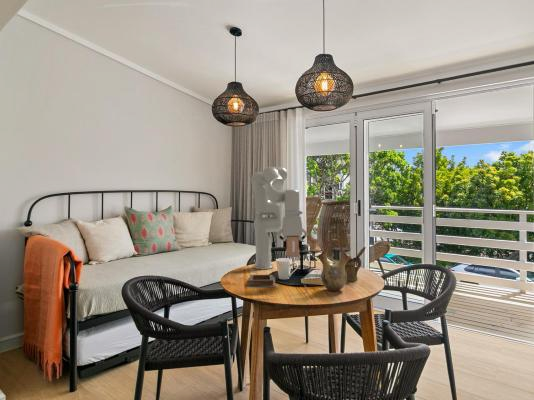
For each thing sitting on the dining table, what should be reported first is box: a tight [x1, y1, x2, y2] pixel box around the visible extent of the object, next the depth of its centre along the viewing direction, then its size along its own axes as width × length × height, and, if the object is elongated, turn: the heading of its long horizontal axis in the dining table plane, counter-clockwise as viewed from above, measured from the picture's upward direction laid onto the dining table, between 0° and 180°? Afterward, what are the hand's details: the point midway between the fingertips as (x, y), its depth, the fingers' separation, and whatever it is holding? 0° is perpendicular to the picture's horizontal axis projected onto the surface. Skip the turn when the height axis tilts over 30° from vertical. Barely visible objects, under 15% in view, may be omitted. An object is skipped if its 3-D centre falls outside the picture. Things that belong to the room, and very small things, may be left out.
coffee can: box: [332, 246, 351, 264], centre depth 195 cm, size 10×10×14 cm
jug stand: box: [246, 274, 277, 289], centre depth 170 cm, size 20×14×4 cm
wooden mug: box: [345, 246, 366, 283], centre depth 178 cm, size 9×14×18 cm, turn 81°
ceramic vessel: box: [316, 238, 352, 292], centre depth 160 cm, size 16×9×25 cm, turn 82°
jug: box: [285, 236, 300, 258], centre depth 168 cm, size 10×7×10 cm
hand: (292, 248), depth 169 cm, fingers closed on jug, 6 cm apart
